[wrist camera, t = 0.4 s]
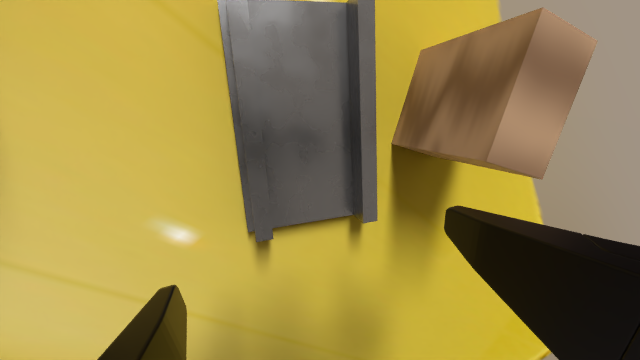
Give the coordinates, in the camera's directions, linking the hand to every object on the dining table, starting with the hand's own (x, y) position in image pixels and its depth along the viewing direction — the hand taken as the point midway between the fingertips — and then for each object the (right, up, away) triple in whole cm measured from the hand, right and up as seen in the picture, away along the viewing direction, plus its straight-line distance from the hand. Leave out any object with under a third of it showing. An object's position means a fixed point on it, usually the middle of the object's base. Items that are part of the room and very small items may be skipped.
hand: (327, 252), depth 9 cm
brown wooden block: (+9, +9, +16) cm, 20 cm away
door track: (-2, +7, +13) cm, 15 cm away
